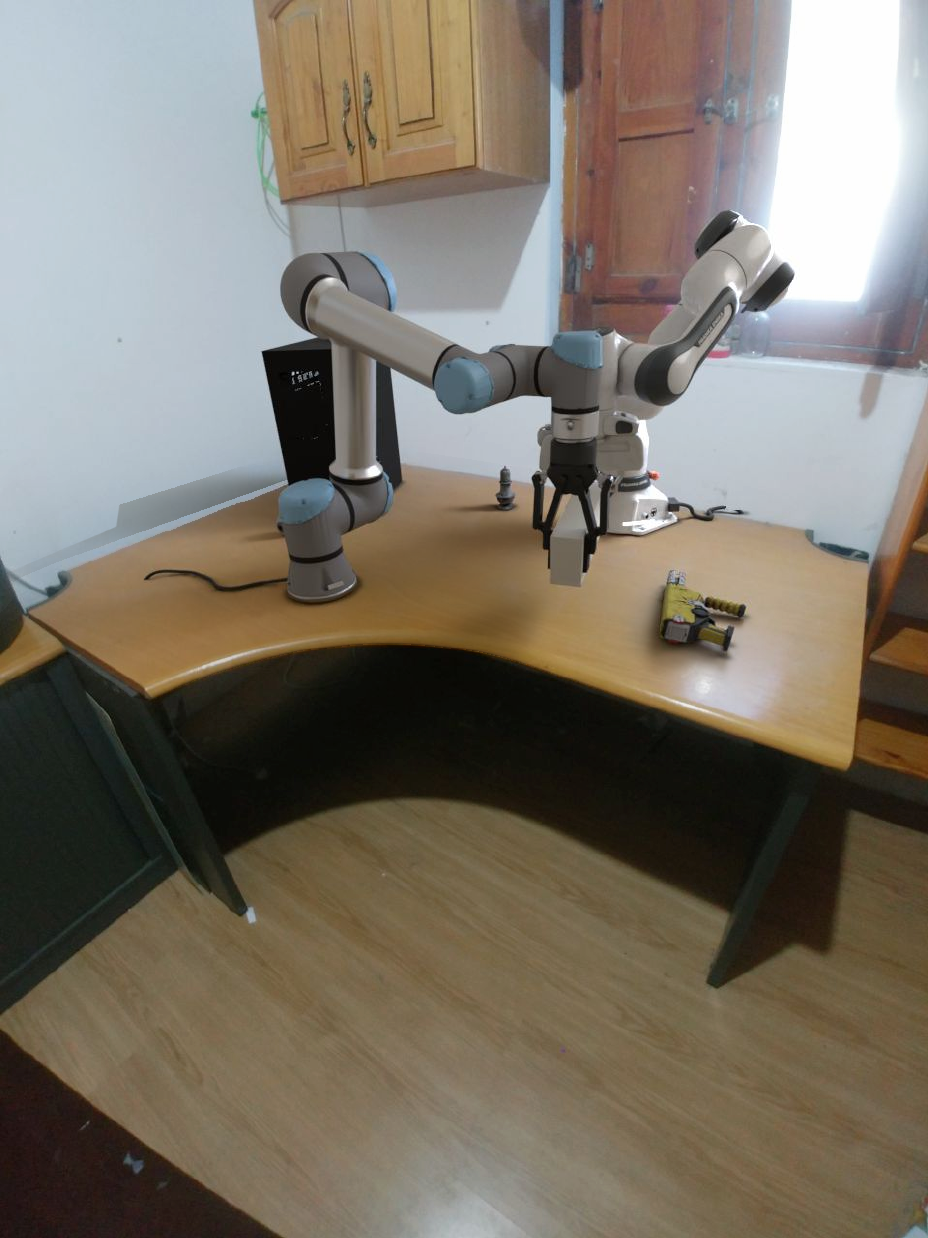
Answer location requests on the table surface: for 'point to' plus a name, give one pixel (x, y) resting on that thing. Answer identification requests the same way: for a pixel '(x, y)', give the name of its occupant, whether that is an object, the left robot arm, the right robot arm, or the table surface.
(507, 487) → the grey chess piece
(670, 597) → the toy gun
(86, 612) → the table surface
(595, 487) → the bar
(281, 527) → the eyeball
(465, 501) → the table surface
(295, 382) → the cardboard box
